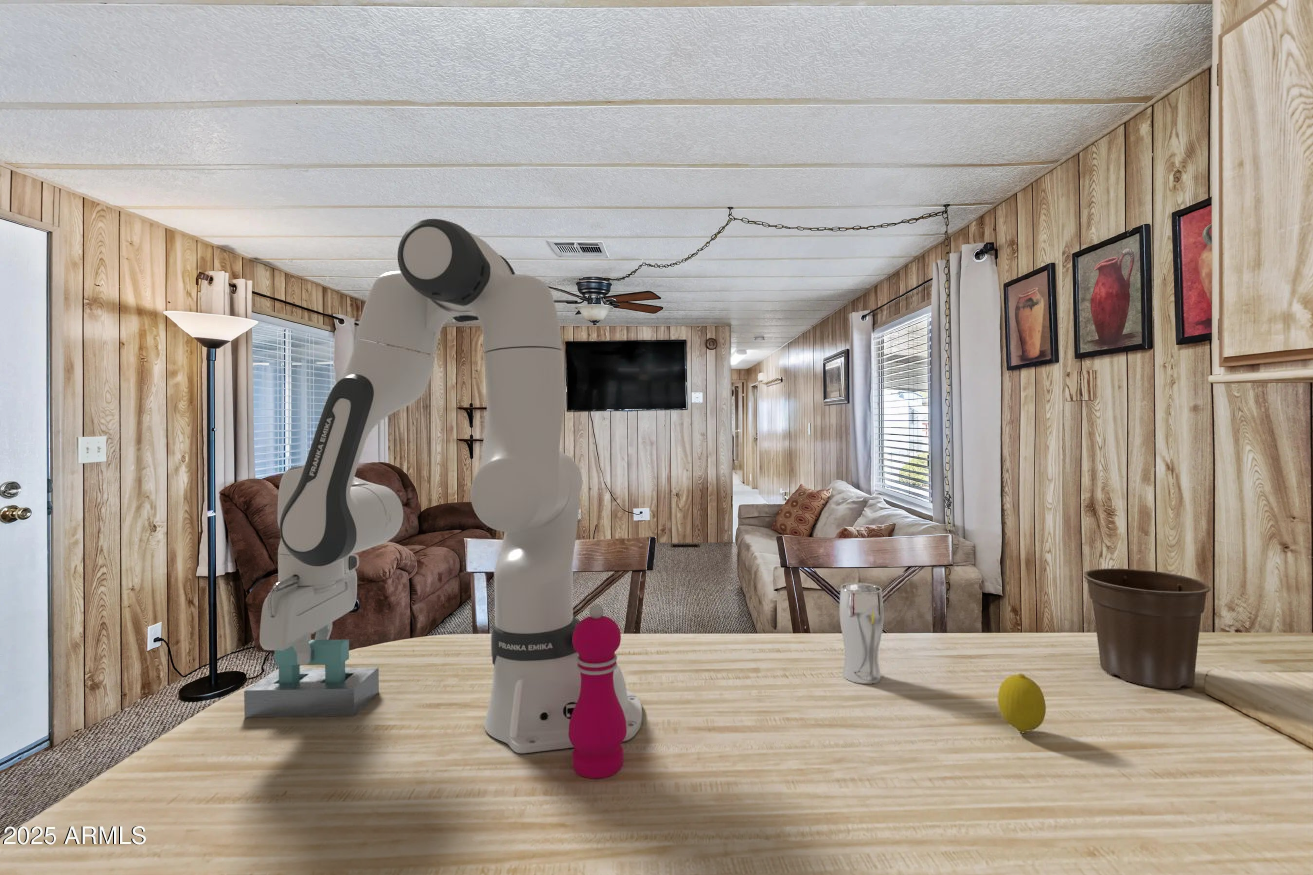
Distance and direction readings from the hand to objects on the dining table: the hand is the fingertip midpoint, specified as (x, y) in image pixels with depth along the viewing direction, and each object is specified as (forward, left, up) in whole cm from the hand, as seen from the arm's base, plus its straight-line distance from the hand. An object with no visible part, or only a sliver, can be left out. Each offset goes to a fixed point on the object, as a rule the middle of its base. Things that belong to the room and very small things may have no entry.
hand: (313, 658), depth 92 cm
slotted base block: (0, 0, -7) cm, 7 cm away
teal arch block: (0, 0, -6) cm, 6 cm away
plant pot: (-134, -6, -7) cm, 134 cm away
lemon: (-102, +12, -7) cm, 103 cm away
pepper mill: (-45, +18, -7) cm, 49 cm away
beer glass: (-87, -7, -7) cm, 88 cm away
